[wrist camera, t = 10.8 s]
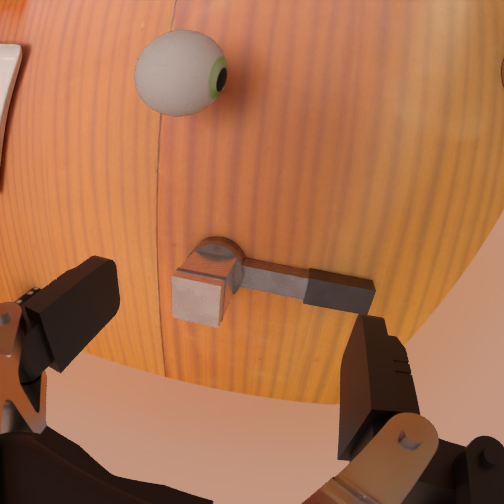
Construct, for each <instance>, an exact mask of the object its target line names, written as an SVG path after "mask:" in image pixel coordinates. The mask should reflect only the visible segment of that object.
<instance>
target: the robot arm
mask: <svg viewBox="0 0 504 504" xmlns="http://www.w3.org/2000/svg"><path fill="white" fill-rule="evenodd" d="M502 79H503V85H504V61H503V64H502ZM119 305H120V295H119V287H118V278H117V269H116V264H115V262H114V261H113V260H110V259H107V258H103V257H99V256H92V257H90V258H89V259H87V260H86V261H84V262H83V263H82V264H80V265H79V266H77V267H76V268H73V269H71V270H68V271H66V272H65V273H63V274H62V275H61V276H59V277H58V278H57V280H56V279H55V280H54V281H52V282H51V283H50V284H49V286H48V285H47V286H46V287H44V288H43V289H41V290H40V291H39V292H37V293H36V294H35V295H33V296H32V297H31V298H30V299H28V300H27V301H26V302H24V303H23V304H22V305H20V306H19V305H18V304H17V303H14V302H4V303H0V504H213V501H212V500H208V499H205V498H201V497H198V496H195V495H191V494H188V493H185V492H182V491H179V490H176V489H173V488H171V487H168V486H165V485H159V484H153V483H147V482H141V481H136V480H131V479H126V478H122V477H117V476H114V475H112V474H111V473H109V472H108V471H107V470H106V469H105V468H103V467H102V466H101V465H100V464H98V462H96V461H95V460H94V459H93V458H92V457H90V455H89V454H88V453H86V452H85V451H84V450H83V449H82V448H81V447H80V446H79V445H77V444H76V443H74V442H72V441H71V440H69V439H67V438H66V437H64V436H62V435H60V434H59V433H57V432H56V431H54V430H53V429H51V428H50V427H48V426H47V424H46V387H47V375H46V372H45V369H46V368H47V367H48V366H49V367H51V368H53V369H54V370H56V371H58V372H60V373H61V372H62V371H63V370H64V369H65V368H66V367H67V366H68V365H69V363H71V361H72V360H73V359H74V358H75V357H76V356H77V355H78V354H79V353H80V352H81V351H82V350H83V348H84V347H85V346H86V345H87V344H88V343H89V342H90V341H91V340H92V339H93V338H94V337H95V336H96V335H97V334H98V333H99V332H100V330H101V329H102V328H103V327H104V326H105V325H106V324H107V323H108V322H109V321H110V320H111V319H112V318H113V317H114V316H115V315H116V313H117V311H118V309H119ZM408 362H409V361H408V357H407V353H406V349H405V347H404V346H403V345H402V343H401V342H400V341H399V340H398V338H397V337H395V336H389V335H388V333H387V329H386V324H385V320H384V318H382V317H376V316H370V315H364V314H359V315H358V317H357V319H356V322H355V325H354V327H353V330H352V333H351V336H350V338H349V341H348V344H347V346H346V349H345V352H344V355H343V358H342V363H341V370H340V420H339V443H338V460H347V461H350V463H349V464H348V465H347V466H346V467H345V468H344V469H343V470H342V471H341V472H340V473H339V474H338V475H337V476H336V477H333V478H331V479H330V480H329V481H328V482H326V483H325V484H324V485H323V486H322V487H321V488H319V489H318V490H317V491H316V492H315V493H314V494H313V495H311V496H310V497H309V498H308V499H307V500H305V501H304V502H303V503H302V504H504V447H503V445H502V444H501V443H500V442H499V441H497V440H496V439H494V438H492V437H489V436H480V437H477V438H475V439H474V440H473V441H471V443H470V444H469V445H468V446H467V447H464V446H461V445H458V444H454V443H451V442H448V441H444V440H442V439H439V438H438V434H437V431H436V429H435V427H434V426H433V425H432V423H431V422H430V421H429V420H427V419H426V418H424V417H423V416H421V415H420V411H419V406H418V401H417V396H416V392H415V387H414V382H413V378H412V375H411V369H410V365H409V364H408Z"/></svg>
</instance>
